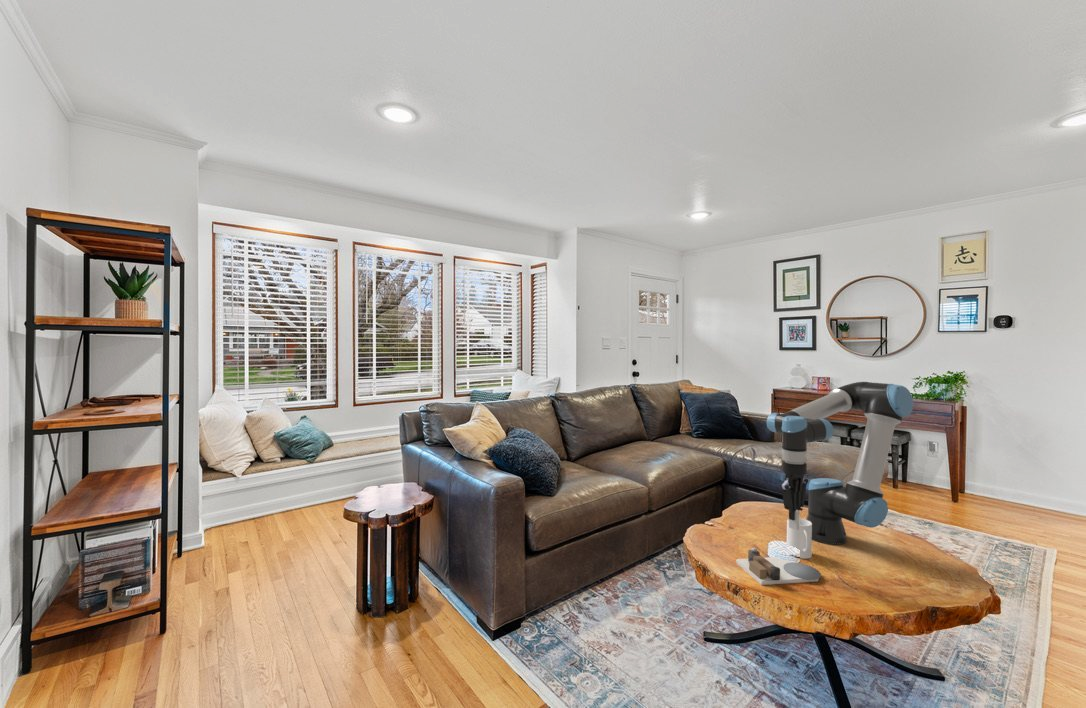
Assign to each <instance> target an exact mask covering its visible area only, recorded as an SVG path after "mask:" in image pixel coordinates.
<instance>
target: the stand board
mask: <svg viewBox="0 0 1086 708" xmlns="http://www.w3.org/2000/svg"><path fill="white" fill-rule="evenodd" d="M750 550H751V551H752V552H757V551H758V548H756V547H751V548H750ZM776 557H777V556H770V557H769V556H768V557H764V558H765V559H766V560H767V561H769V562H770V563H771V564H773V565H774V566H776V567H778V568H780V580H773V579H771V578H770V577H769V576H768V575H767V569H766V568H765V567H763V566H762V565H761V564H760V563H758V562H757V561H748V558H737V559H736V560H735V563H736V564H737V565H738V566H739V567H740V568H741V569H743V570H744V571H745V572H746V573H747V574H749V576H751V577H752V578H753V579H754V580H755V581H756V582H757V583H758V584H760V585H761V586H765V585H767V586H769V585H778V584H779V585H780V584H781V585H784V584H795V583H796V584H797V583H798V584H799V583H811V582H819V580H820V579H821V577H822V574H821V572H820V570H819V569H817V568H816V567H813V566H812V565H809V564H807V563H806V564H804V563H801V562H797V561H796V560H794V561H788V560H782V559H779V558H776Z"/></svg>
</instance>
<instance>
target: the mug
mask: <svg viewBox="0 0 1086 708" xmlns="http://www.w3.org/2000/svg"><path fill="white" fill-rule="evenodd" d="M812 541H813V540H812V523H811V522H810V521H808V520H806V518H805V519H804V518H802V517H799V529H798V530H795V529H792V528H789V517H788V518H787V520H786V544H789V545H791V546H793V547H796V548H797V549H799V550H800V558H799V559H802V560H803V559H805V560H807V559H811V558H812V556H813V554H812V543H813V542H812Z"/></svg>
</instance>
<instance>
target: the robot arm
mask: <svg viewBox="0 0 1086 708" xmlns="http://www.w3.org/2000/svg"><path fill="white" fill-rule="evenodd" d="M913 409H914V399H913V396H912V393H911V391H910V390H909V388H907V387H906V386H904V385H900V384H894V383H881V382H868V381H857V382H852V383H848V384H844V385H842V386H839V387H837V388H835V389H832V390H831V391H830V392H829V393H828V394H826V395H824V396H822V397H820V398H817V399H815V400H812V401H810V402H808V403H805V404H802V405H800V406H798V407H796V408H793V409H791V410H788V411H786V412H783V413H780V412H771V413H770V414H768V416H767V419H766V423H765V424H766V427H767V429H768V430H769V431H770V432H773V433H775V434H777V435H779V434H780V435H781V440H782V442H781V443H782V446H781V448H782V449H781V453H782V454H781V455H782V456H781V459H782V461H781V470H782V472H783V473H784V474H785V475H784V482H780V483H779V488H780V489H781V494H782V501H783V507H784V509H785V510H788V518H789V528H792V529H795V530H798V529H799V518H800V511H803V510H804V509H803V507H805V506H804V505H805V499H806V492H807V490H808V498H807V499H808V505H807V506H808V507H807V509H808V511H807V516H806V518H805V520H808V521H810V522H811V523H812V541H816V542H818V543H823V544H828V545H842V544H846V542H847V537H848V535H847V533H846V529H845V526H844V524H843V519H844V520H847V521H849V522H851V523H854V524H856V525H859V526H863V527H866V528H876V527H878V526H880V525H881V524H882V523H884V521H885V519H886V518H887V516H888V513H889V512H888V511H889V507H888V505H889V504H888V502H887V501H886V500H885V499H884V492H883V491H882V489H881V483H882V479H883V476H884V472H885V468H886V464H887V460H888V456H889V451H890V447H891V443H892V439H893V435H894V432H895V427H896V426H898V425H899V424H901V423H902V420H903V418H906V417H907V418H908V417H909V416H910V415H911V414H912V412H913ZM848 411H862V412H864V414H863V415H864V417H866V420H867V422H866V424H865V428H864V429H865V430H864V432H863V437H862V440H861V445H860V447H859V453H858V457H857V461H856V465H855V468H854V472H853V475H852V479H851V480H849V481H847V482H846V484H845V486H844V481H842V480H840V479H836V478H829V477H826V478H825V477H822V478H821V477H819V478H812V479H810V481H809V479H808V478H805V475H807V473H808V471H807V469H808V468H807V467H808V466H807V465H808V464H807V461H808V450H807V449H808V448H807V447H808V443H809V444H810V443H817V442H824V441H826V440H830V439H831V438H833V435H834V426H833V424H832V423H831V422H830V421H829V420H827V419H825V418H828V417H830V416H833V415H835V414H837V413H839V412H840V413H846V412H848ZM808 483H809V484H808ZM807 487H808V489H807Z"/></svg>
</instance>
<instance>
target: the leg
mask: <svg viewBox="0 0 1086 708" xmlns="http://www.w3.org/2000/svg"><path fill="white" fill-rule="evenodd" d="M747 552H748V554H747V555H748V557H747V559H748V561H757V562H758V563H760V564H761V565H762V566H763V567H765V568H766V569H767V575H768V576H769V577H770V578H771V579H773V580H780V568H778V567H776V566H774V565H773V564H771V563H770V562H769V561H767V560H766V559H765V558H766V557H764V556H763V555H761V553H760V551H758V550H757V552H752V551H751V549H749V550H748V551H747Z"/></svg>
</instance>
